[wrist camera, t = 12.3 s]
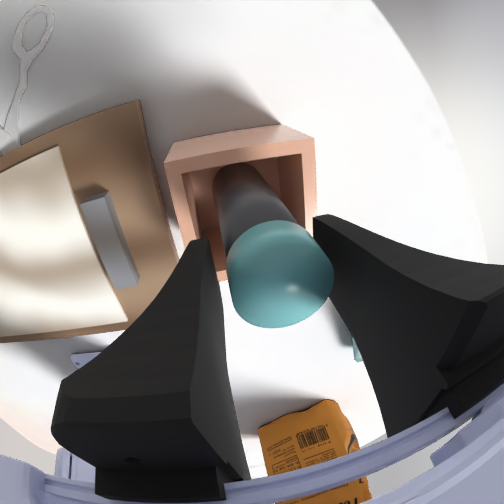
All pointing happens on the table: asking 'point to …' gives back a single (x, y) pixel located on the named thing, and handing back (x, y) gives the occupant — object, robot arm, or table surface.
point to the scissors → (22, 77)
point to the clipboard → (81, 229)
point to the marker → (267, 252)
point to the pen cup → (234, 151)
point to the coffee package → (313, 449)
